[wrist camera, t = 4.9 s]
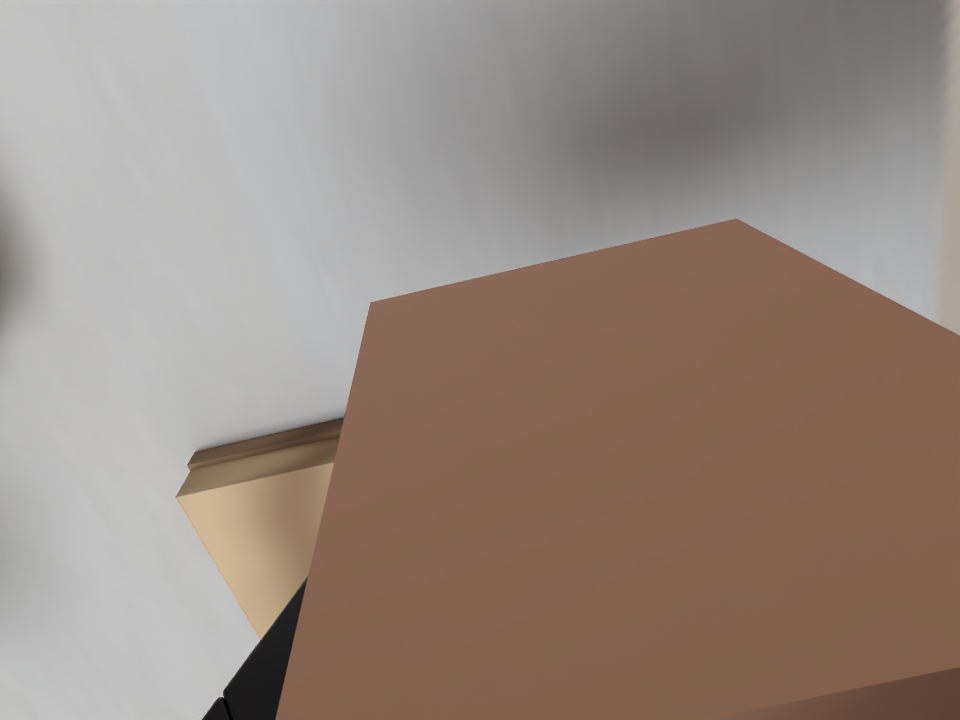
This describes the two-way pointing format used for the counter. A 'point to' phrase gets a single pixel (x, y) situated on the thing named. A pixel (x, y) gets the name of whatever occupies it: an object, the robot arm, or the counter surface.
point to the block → (641, 498)
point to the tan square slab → (261, 522)
